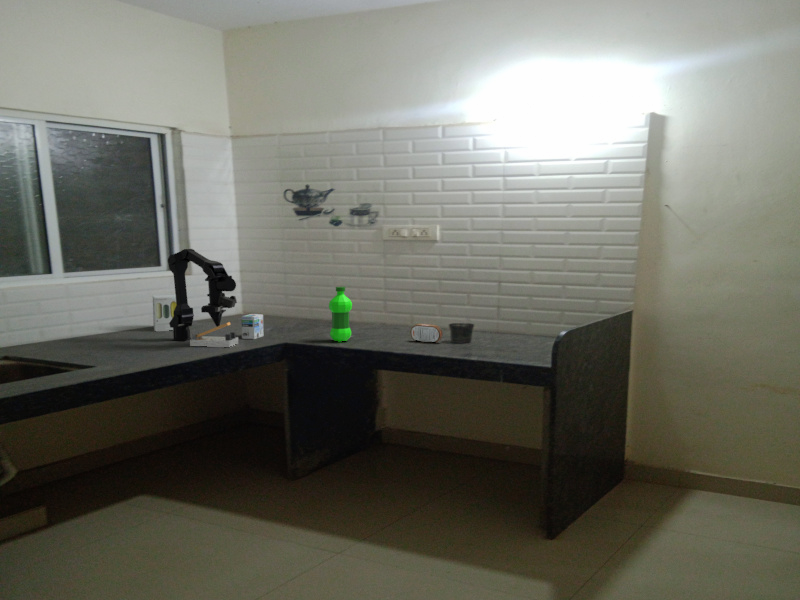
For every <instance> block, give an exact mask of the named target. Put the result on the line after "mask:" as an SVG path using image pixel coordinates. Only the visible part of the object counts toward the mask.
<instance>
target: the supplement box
mask: <svg viewBox="0 0 800 600" xmlns="http://www.w3.org/2000/svg"><path fill="white" fill-rule="evenodd" d="M175 307H176V295H175V294H154V295H153V294H152V311H153V312H152V317H153V331H154V332H155V331H156V332H170V331H169V330H173V328H171V327H170V324H169V323H170V321H171V320H172V318H173V317H174V310H175ZM180 325H181V324H180Z"/></svg>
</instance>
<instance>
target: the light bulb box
mask: <svg viewBox="0 0 800 600" xmlns="http://www.w3.org/2000/svg"><path fill="white" fill-rule="evenodd" d="M262 337H264V314H260V313H250V314H246V315H242V316H241V339H243V340H256V339H259V338H262Z"/></svg>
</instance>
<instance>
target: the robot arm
mask: <svg viewBox="0 0 800 600" xmlns="http://www.w3.org/2000/svg"><path fill="white" fill-rule="evenodd" d="M190 262H192V263H193V264H195V265H196V266H197V267H200V268H201V269H202V272H203V273H204V274H205V275H206V276H207V277H206V278H205V279H204V281H205V282H207V283H208V293H207V294H206V296H207V297H208V299H209V302H208V303H207V304H206V305H203V306H201V308H200V311H201V313H208V314H209V316H210V318H211V320H212V322H213V323H214V324H215V327H218V326H220V325H221V320H222V316H223V314H225V312H226V311H227V309H233V308H235V306H236V304H237V303H238V302H237V298H236V296H235V295H230V297H229V296H226V294H225V292H234V291H235V289H236V287H237V282H236V281H235V279H234V278H233V276H232V275H229V274H228V273H227V270H226V269H225V267H224V264H223V263H222V262H220V261H217V260H211V259H209V258H208V257H205V256H203V255H202V254H201V253H199V252H197V251H195V249H193V248H183V249H182V250H181V251H179V252H178V251H177V252H176V253H173V254H170V255H169V256H168V258H167V263H168V268H169V270H170V272H171V273H172V274H173V282H174V295H176V307H175V310H174V317H173V318H172V320H171V321H170V323H169V324H170V327H171V328H173V331H172V332H173V334H172V335H173V338H172V339H171V341H178V342H181V341H182V342H186V341H188V340H189V341H190V340H191V339H192V337H191V330H190V327H192V326H193V322H194V317H195V315H194V308H193V307H190V305H189V302H188V292H187V282H186V272H187V270H188V268H189V263H190ZM180 324H181V325H180Z"/></svg>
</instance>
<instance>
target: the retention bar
mask: <svg viewBox="0 0 800 600" xmlns="http://www.w3.org/2000/svg"><path fill="white" fill-rule="evenodd" d="M228 326H231V322H230V321H228V322H226V323H222V324H220V326H218V327H217V326H215V327H213V328H211V329H208V330H205V331H203V332H201V333H200V334H198V335H197V338H198V337H200V336H205V335H207V334H210V333H212V332H216V331H218V330H220V329H223V328H225V327H228Z"/></svg>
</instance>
